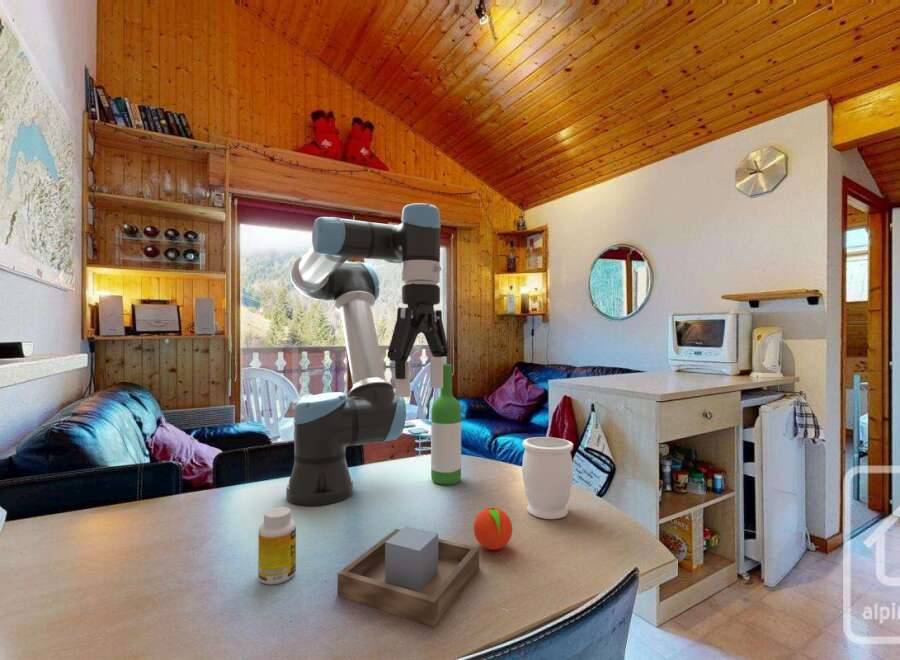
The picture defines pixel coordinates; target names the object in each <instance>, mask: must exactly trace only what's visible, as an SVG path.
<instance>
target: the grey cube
mask: <svg viewBox="0 0 900 660" xmlns="http://www.w3.org/2000/svg"><path fill="white" fill-rule="evenodd" d="M399 530H400V531H399V532H398V533H396V534H395V535H394V536H393V537H391V538H390V539H389V540H387V541H386V542H385V582H389V583H392V584H395V585H399V586H402V587H405V588H409V589H412V590H416V591H419V592H420V591H421V590H422V589H423V587H424V586H425V585H426V584H427V583H428V582H429V581H430V580H431V579H432V578H433V577H434V576H435V574H436V573H437V572H438V539H439V533H436V532H433V531H429V530H424V529H419V528H415V527H411V526H407V525H406V526H404V527H403V528H402V529H399Z"/></svg>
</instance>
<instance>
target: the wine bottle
mask: <svg viewBox="0 0 900 660" xmlns="http://www.w3.org/2000/svg"><path fill="white" fill-rule="evenodd" d="M439 389H440V392H439V393H440V395H439V396H438V397H436V399H435V400H434V402H433V403H432V406H431V410H430V411H431V412H430V413H431V417H430V418H431V419H430V421H431V422H430V424H431V425H430V426H431V427H430V441H431V442H430V476H431V480H432V481H433V482H434V483H435V484H437V485H442V486H443V485H444V486H446V485H447V486H449V485H455V484H457V483H459V482H460V480H461V478H462V406H461V404H460V402H459V401H458V399H457V398H456V397H454V395H453V365H452V364H450V363H443V388H439Z"/></svg>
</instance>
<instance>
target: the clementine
mask: <svg viewBox="0 0 900 660" xmlns="http://www.w3.org/2000/svg"><path fill="white" fill-rule="evenodd" d="M473 532H474V536H475V539H476V541H477V542H478V544H480V546H482V547H484V548H486V549H487V550H491V551H497V550H500V549H502V548H504V547H506V545H507V544H509V542H510V540H511V538H512V534H513V524H512V521H511V519H510V517H509V516H508V514H507V513H506V512H505V511H503V510H502V509H500V508H498V507H487V508H484V509H483V510H481V511H480V512H479V513H478V514H477V515H476V518H475V519H474V523H473Z"/></svg>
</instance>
